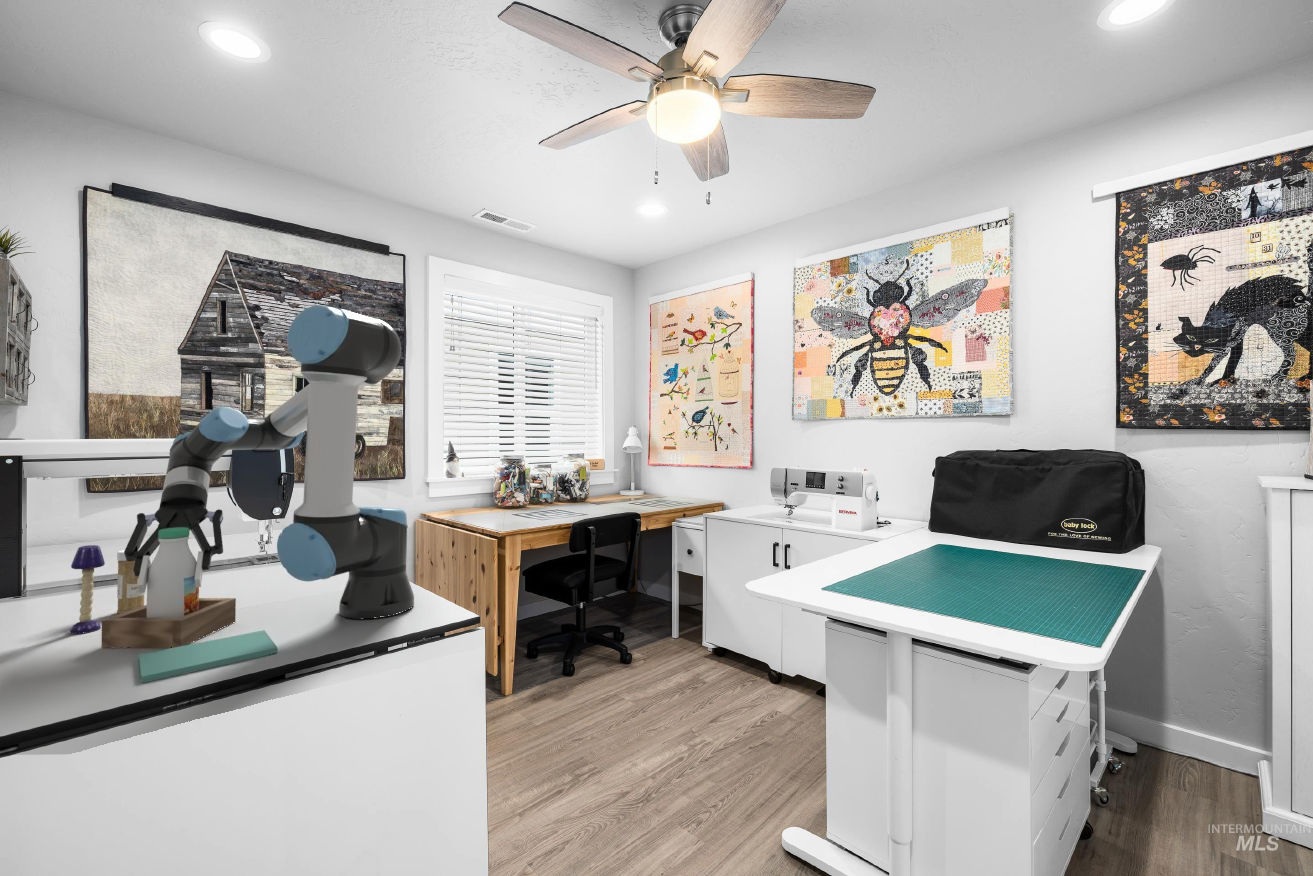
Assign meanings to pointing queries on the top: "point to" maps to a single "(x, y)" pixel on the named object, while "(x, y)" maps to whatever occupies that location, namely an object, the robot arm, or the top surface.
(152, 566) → the milk bottle
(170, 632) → the walnut holder
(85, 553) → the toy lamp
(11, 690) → the top surface
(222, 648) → the green mat
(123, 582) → the sprinkles bottle
